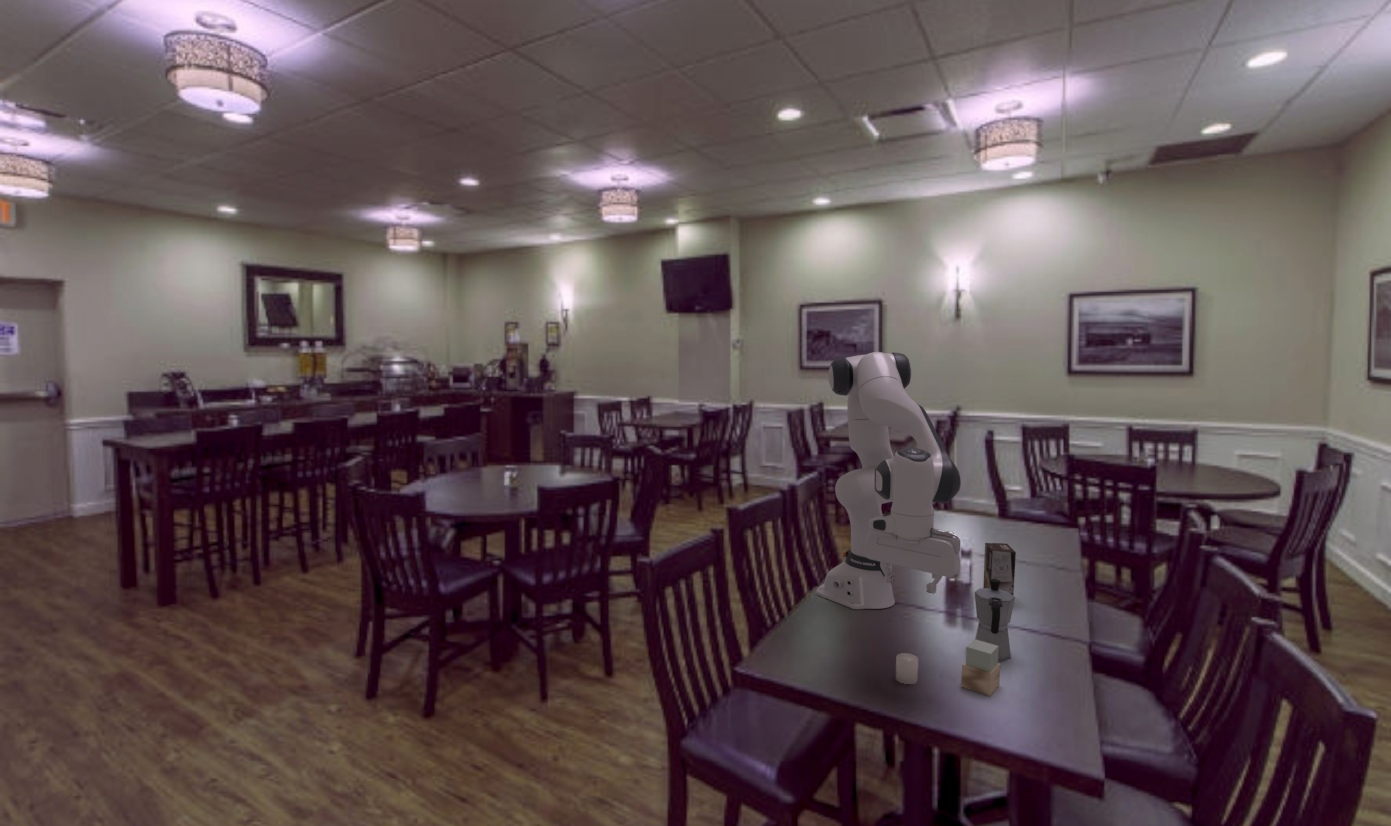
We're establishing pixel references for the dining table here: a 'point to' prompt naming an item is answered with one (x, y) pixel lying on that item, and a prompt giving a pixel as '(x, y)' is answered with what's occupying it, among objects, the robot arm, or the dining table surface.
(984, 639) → the coffee maker
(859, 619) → the dining table surface
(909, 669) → the grey rounded cylinder
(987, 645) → the tower top
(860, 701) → the dining table surface
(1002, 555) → the coffee box
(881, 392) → the robot arm
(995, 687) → the tower base
